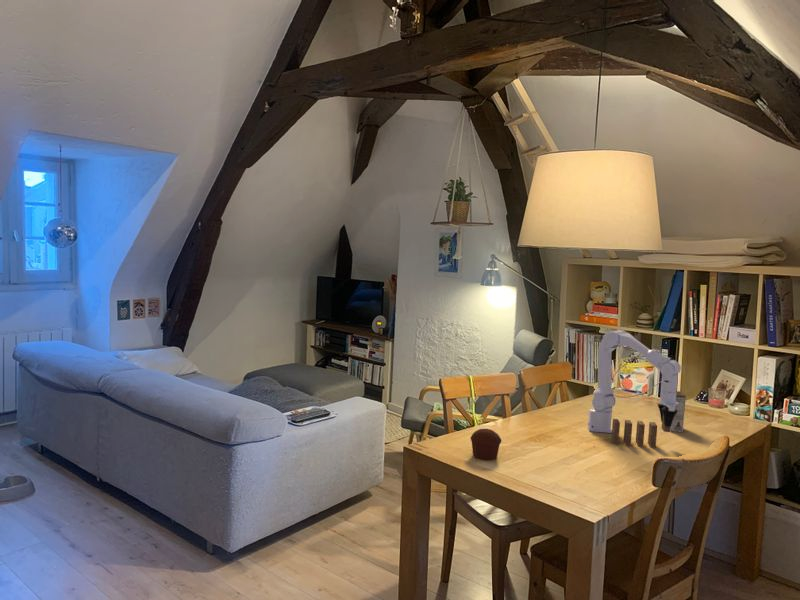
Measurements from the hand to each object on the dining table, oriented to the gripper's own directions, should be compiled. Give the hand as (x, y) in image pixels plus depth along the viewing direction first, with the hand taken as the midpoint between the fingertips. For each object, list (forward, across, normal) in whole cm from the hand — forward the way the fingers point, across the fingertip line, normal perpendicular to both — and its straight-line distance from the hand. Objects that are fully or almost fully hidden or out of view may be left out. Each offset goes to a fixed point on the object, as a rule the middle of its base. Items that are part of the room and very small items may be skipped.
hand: (665, 424), depth 254 cm
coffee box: (+9, +28, -10) cm, 31 cm away
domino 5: (+2, 0, 0) cm, 2 cm away
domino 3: (+9, 0, +10) cm, 13 cm away
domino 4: (+9, 0, +5) cm, 10 cm away
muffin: (+9, -32, +70) cm, 78 cm away
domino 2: (+9, 0, +14) cm, 17 cm away
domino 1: (+9, 0, +19) cm, 21 cm away
